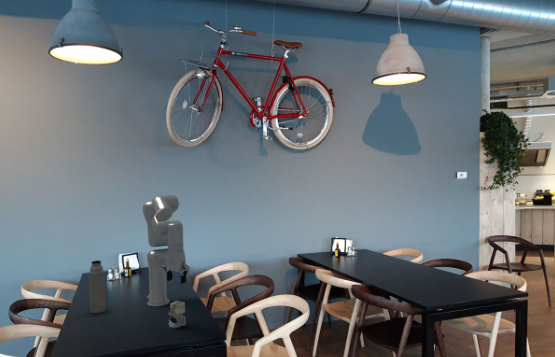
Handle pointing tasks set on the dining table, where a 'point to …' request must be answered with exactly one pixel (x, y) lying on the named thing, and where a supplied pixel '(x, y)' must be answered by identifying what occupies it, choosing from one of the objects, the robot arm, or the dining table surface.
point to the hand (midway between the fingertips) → (176, 281)
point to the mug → (176, 320)
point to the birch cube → (177, 307)
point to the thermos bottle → (97, 287)
